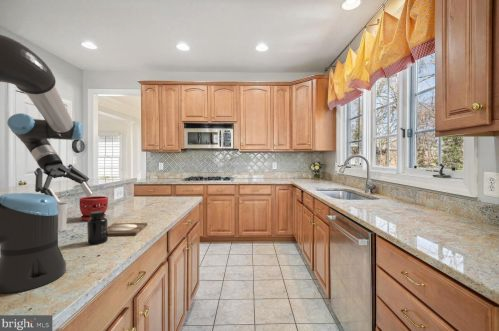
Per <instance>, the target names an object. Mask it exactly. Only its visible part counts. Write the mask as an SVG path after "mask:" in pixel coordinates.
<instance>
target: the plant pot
mask: <svg viewBox="0 0 499 331" xmlns="http://www.w3.org/2000/svg"><path fill="white" fill-rule="evenodd" d="M108 203H109V197H108V196H103V195H101V196H98V195H97V196H96V195H95V196H90V197H87V196H85V197H80V198H79V210H80V214H82V215H81V216H80V219H81V220H83V221H87V222H88V221H89V220H90V219H91V218H90V213H91V212H95V211H104V215H105V216H104V218H106V216H107V214H106V213H107V210H108V209H107V208H108Z"/></svg>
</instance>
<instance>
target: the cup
mask: <svg viewBox="0 0 499 331" xmlns="http://www.w3.org/2000/svg"><path fill="white" fill-rule="evenodd" d="M68 206H69V203H68V202H59V204H58V205H57V209H58V212H59V213H58V232H61V231H65V230H66V229H67V218H68V209H69V208H68Z"/></svg>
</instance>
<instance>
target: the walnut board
mask: <svg viewBox="0 0 499 331" xmlns="http://www.w3.org/2000/svg"><path fill="white" fill-rule="evenodd" d="M147 226H148V222H125V223H124V222H119V223H117V222H116V223H112V224H110V225H109V226H108V237H128V236H129V237H130V236H132V237H133V236H134V237H135V236H137V235H138V234H140V232H141V231H143V230H144V229H145V228H146V227H147Z"/></svg>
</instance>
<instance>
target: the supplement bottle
mask: <svg viewBox="0 0 499 331" xmlns="http://www.w3.org/2000/svg"><path fill="white" fill-rule="evenodd" d="M104 214H105V213H104V211H95V212H91V213H90V218H91V219H90V220H89V221H87V224H86V226H87V228H86V229H87V243H88V245H91V246H92V245H100V244H101V245H102V244H104V243H106V242H108V240H109V236H108V222H109V221H108V219H107V218H106V216H105V215H104ZM104 216H105V217H104Z"/></svg>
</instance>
